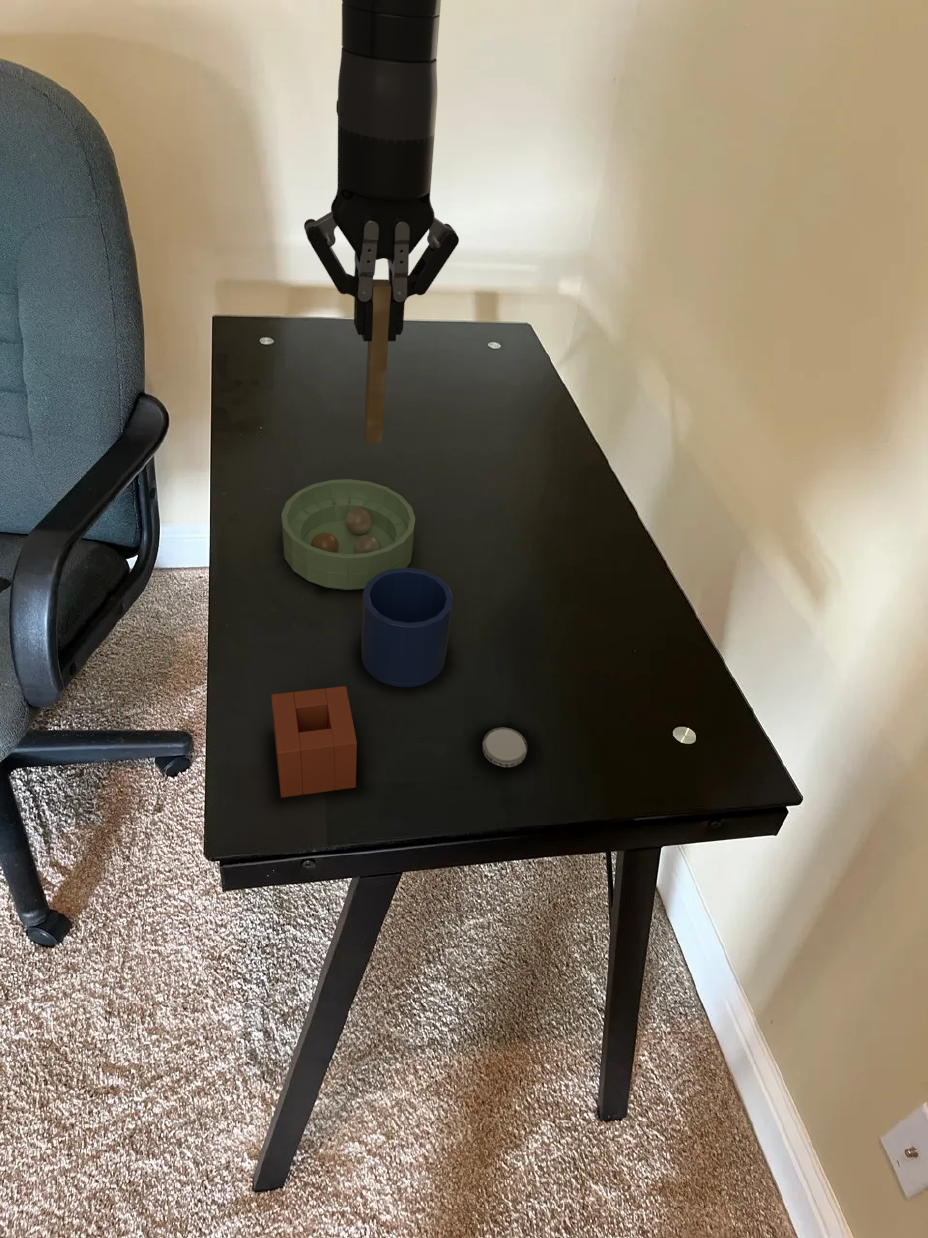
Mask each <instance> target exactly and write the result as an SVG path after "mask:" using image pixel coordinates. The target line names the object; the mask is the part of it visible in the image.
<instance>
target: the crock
mask: <svg viewBox="0 0 928 1238" xmlns="http://www.w3.org/2000/svg"><path fill="white" fill-rule="evenodd" d="M453 602H454V597H453V594H452V591H451V588H450V586H449V585H448V584H447V583H446V582H445V581H444V580H443V579H442V578H441V577H440V576H437V575H435V574H433V573H431V572H429V571H427V570H425V569H424V570H423V569H419V568H414V567H406V568H397V569H390V570H387V571H385V572H382V573H379V574H377V575H376V576H375V577H373V578H372V579H371V580H370V581H369V582H368V583H367V584H366V587H365V589H363V592H362V603H361V605H362V607H361V613H362V614H361V641H360V642H361V644H360V652H361V661H362V664H363V666H364V669H365V670H366V671H367V673H368V674H369V675H370V676H371V677H372V678H374V679H375V680H377V681H378V682H381V683H383V684H385V685H388V686H390V687H391V686H392V687H395V688H396V687H397V688H414V687H419V686H423V685H425V684H427V683H430V682H431V681H433V680H434V679H435V678H437V677H438V676H439V675H440V673H442V670H443V669H444V667H445V661H446V656H447V650H448V644H449V635H450V627H451V620H452V612H453Z"/></svg>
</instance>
